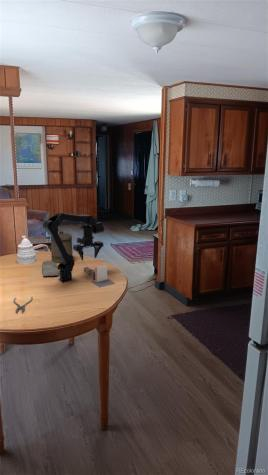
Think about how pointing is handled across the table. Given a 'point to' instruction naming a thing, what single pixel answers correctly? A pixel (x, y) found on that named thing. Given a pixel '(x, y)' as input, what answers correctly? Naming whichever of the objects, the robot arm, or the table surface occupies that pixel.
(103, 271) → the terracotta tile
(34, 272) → the table surface
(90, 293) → the table surface
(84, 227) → the robot arm
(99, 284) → the charcoal mat
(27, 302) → the pliers
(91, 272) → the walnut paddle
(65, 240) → the wooden container
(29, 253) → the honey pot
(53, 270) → the stone slab
